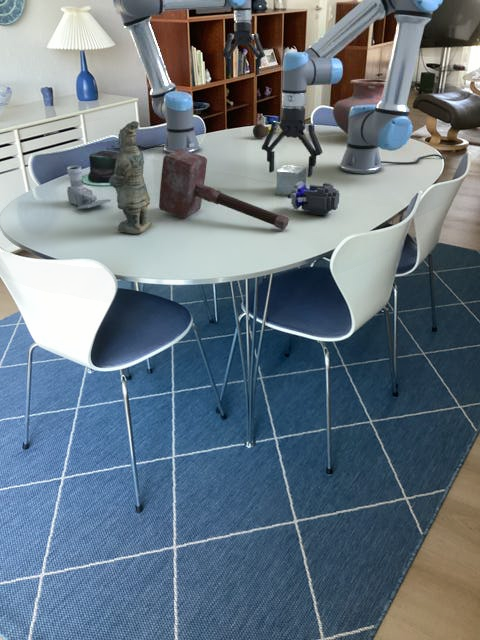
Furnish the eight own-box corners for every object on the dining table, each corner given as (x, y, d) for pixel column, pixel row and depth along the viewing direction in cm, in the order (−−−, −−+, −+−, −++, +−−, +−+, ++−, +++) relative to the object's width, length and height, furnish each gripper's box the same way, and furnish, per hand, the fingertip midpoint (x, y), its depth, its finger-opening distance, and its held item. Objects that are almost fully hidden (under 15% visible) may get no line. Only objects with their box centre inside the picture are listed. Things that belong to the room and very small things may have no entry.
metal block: (284, 187, 194) (285, 164, 190) (305, 189, 191) (306, 166, 187) (276, 194, 187) (276, 171, 183) (297, 197, 184) (298, 173, 180)
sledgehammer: (299, 190, 156) (179, 147, 167) (285, 200, 148) (161, 154, 160) (286, 244, 166) (174, 200, 177) (272, 256, 158) (156, 209, 170)
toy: (295, 178, 172) (342, 184, 166) (295, 205, 177) (340, 211, 171) (285, 186, 166) (333, 192, 160) (284, 213, 170) (331, 220, 164)
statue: (131, 220, 168) (117, 116, 152) (158, 224, 164) (147, 118, 149) (109, 233, 159) (93, 124, 144) (138, 237, 156) (124, 126, 140)
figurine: (296, 120, 270) (269, 123, 251) (294, 136, 273) (268, 140, 254) (273, 118, 276) (245, 120, 257) (271, 134, 279) (244, 137, 260)
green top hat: (70, 181, 201) (92, 168, 218) (116, 207, 203) (134, 192, 220) (83, 145, 193) (105, 134, 211) (131, 172, 195) (148, 159, 212)
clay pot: (396, 132, 265) (403, 75, 252) (401, 147, 239) (409, 84, 227) (332, 131, 270) (336, 75, 257) (330, 145, 244) (333, 84, 232)
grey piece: (79, 162, 182) (107, 171, 173) (85, 197, 188) (112, 207, 179) (56, 168, 176) (83, 177, 167) (62, 204, 182) (89, 214, 173)
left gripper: (213, 22, 244) (215, 74, 255) (266, 21, 235) (265, 76, 246) (220, 21, 250) (222, 72, 260) (272, 20, 241) (272, 74, 251)
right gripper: (252, 105, 176) (251, 172, 187) (328, 111, 168) (323, 180, 178) (261, 102, 182) (260, 167, 193) (335, 107, 174) (329, 174, 184)
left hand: (243, 74), depth 253 cm, fingers open, 13 cm apart
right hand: (290, 173), depth 186 cm, fingers open, 13 cm apart
